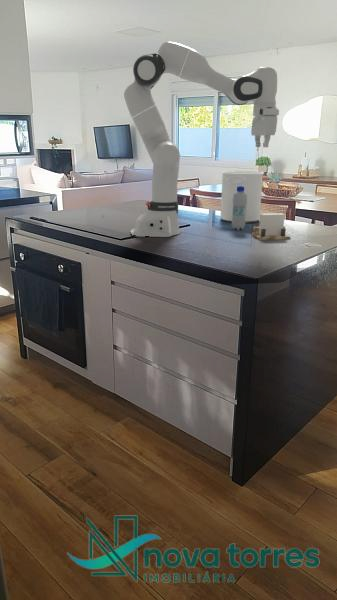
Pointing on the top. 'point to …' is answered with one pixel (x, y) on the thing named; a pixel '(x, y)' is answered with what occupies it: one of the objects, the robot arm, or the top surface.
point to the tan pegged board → (269, 237)
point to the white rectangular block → (271, 223)
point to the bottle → (239, 208)
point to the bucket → (251, 187)
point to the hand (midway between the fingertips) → (261, 147)
